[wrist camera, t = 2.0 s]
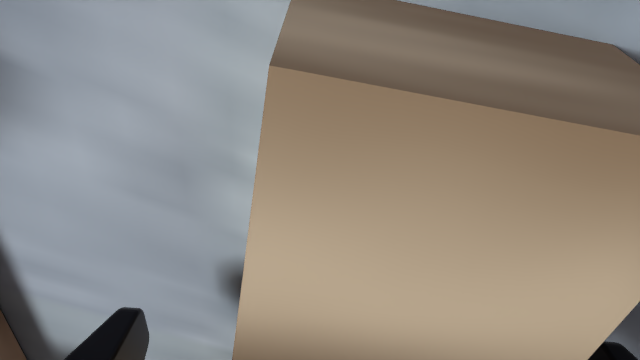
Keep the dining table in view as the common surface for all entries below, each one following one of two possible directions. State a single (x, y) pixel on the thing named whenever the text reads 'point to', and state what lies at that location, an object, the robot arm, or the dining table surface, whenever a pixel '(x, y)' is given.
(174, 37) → the dining table surface
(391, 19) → the board
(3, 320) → the frame
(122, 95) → the dining table surface
